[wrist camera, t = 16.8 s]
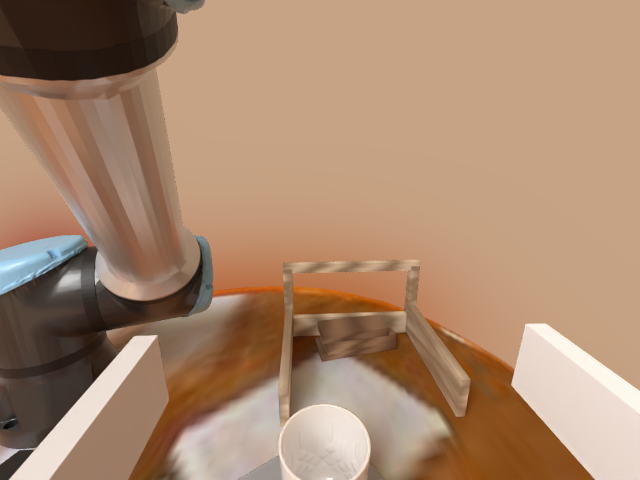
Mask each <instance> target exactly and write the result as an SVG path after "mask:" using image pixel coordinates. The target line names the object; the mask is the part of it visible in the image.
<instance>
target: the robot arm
mask: <svg viewBox="0 0 640 480" xmlns="http://www.w3.org/2000/svg"><path fill="white" fill-rule="evenodd" d="M204 2H205V0H0V107H1V109H2V111H3V112H4V114H5V115H6V116H7V118H8V119H9V121H10V122H11V124H12V125H13V127H14V128H15V129H16V131H17V132H18V134H19V135H20V137H21V138H22V140H23V141H24V143H25V144H26V146H27V147H28V148H29V150H30V152H31V153H32V154H33V156H34V157H35V159H36V160H37V162H38V163H39V165H40V166H41V168H42V169H43V170H44V172H45V173H46V175H47V176H48V178H49V179H50V180H51V182H52V184H53V185H54V187H55V188H56V189H57V191H58V192H59V194H60V195H61V197H62V198H63V200H64V201H65V202H66V204H67V205H68V207H69V208H70V210H71V211H72V213H73V214H74V215H75V217H76V219H77V220H78V222H79V223H80V224H81V226H82V227H83V229H84V230H85V232H86V233H87V235H88V236H89V238H90V239H91V240H92V242H93V243H94V245H95V246H94V247H88V242H87V241H86V240H85V238H84V237H82V236H80V235H65V236H58V237H51V238H46V239H41V240H37V241H32V242H28V243H24V244H20V245H16V246H13V247H10V248H7V249H3V250H0V445H2V446H5V447H8V448H16V449H23V448H32V447H37V448H36V449H35V450H19V451H18V452H17V453H15V454H14V455H13V456H11V457H10V458H9V459H7V460H6V461H5V462H3V463H2V464H1V465H0V480H128V479H129V477H130V475H131V473H132V471H133V469H134V467H135V465H136V463H137V461H138V459H139V457H140V455H141V453H142V451H143V450H144V448H145V446H146V444H147V442H148V440H149V438H150V436H151V434H152V432H153V430H154V428H155V426H156V424H157V422H158V420H159V418H160V417H161V415H162V413H163V411H164V409H165V407H166V405H167V403H168V401H169V397H168V391H167V386H166V380H165V374H164V369H163V363H162V357H161V352H160V346H159V340H158V335H152V336H134V337H133V338H132V339H131V340H130V342H129V343H128V344H127V345H126V346H125V347H124V348H123V350H122V351H121V352H120V353H119V352H118V350H117V349H116V348H115V347H114V345H113V344H112V343H111V341H110V340H109V339H108V337H107V334H106V331H107V330H112V329H117V328H123V327H128V326H133V325H139V324H144V323H149V322H155V321H160V320H165V319H171V318H176V317H188V316H190V315H192V314H195V313H200V312H203V311H205V310H206V309H207V308H208V307H209V306H210V304H211V301H212V296H213V285H212V282H213V267H212V257H211V251H210V247H209V243H208V241H207V240H206V239H205V238H204V237H202V236H195V235H193V233H192V232H191V231H190V230H189V229H187V228H186V227H185V226H183V222H182V216H181V210H180V204H179V199H178V193H177V187H176V181H175V176H174V170H173V164H172V158H171V153H170V147H169V141H168V135H167V130H166V125H165V118H164V113H163V107H162V101H161V96H160V89H159V84H158V78H157V73H156V67H157V66H159V65H160V64H162V63H163V62H164V61H165V60H166V59H167V58H168V57H169V56H170V55H171V54H172V52H173V51H174V49H175V47H176V44H177V42H178V26H177V18H176V12H177V13H182V14H186V13H188V12H189V11H190V10H197V9H199V8H201V7H202V6H203V5H204ZM511 385H512V386H513V388H514V389H515V390H516V391H517V392H518V393H519V394H520V396H521V397H522V398H523V399H524V400H525V401H526V402H527V403H528V405H529V406H530V407H531V408H532V409H533V410H534V411H535V412H536V414H537V415H538V416H539V417H540V418H541V419H542V420H543V421H544V423H545V424H546V425H547V426H548V427H549V428H550V429H551V430H552V432H553V433H554V434H555V435H556V436H557V437H558V438H559V440H560V441H561V442H562V443H563V444H564V445H565V446H566V447H567V449H568V450H569V451H570V452H571V453H572V454H573V455H574V456H575V458H576V459H577V460H578V461H579V462H580V463H581V464H582V465H583V467H584V468H585V469H586V470H587V471H588V472H589V473H590V474H591V476H592V477H593V478H594V479H595V480H640V391H639V390H637V389H636V388H634V387H633V386H632V385H630V384H629V383H628V382H626V381H625V380H623V379H622V378H621V377H619V376H618V375H616V374H615V373H614V372H612V371H611V370H609V369H608V368H607V367H605V366H604V365H603V364H601V363H600V362H598V361H597V360H595V359H594V358H593V357H591V356H590V355H589V354H587V353H586V352H585V351H583V350H582V349H580V348H579V347H578V346H576V345H575V344H573V343H572V342H571V341H569V340H568V339H566V338H565V337H563V336H562V335H561V334H560V333H558V332H557V331H555V330H554V329H552V328H551V327H550V326H548V325H547V324H526V325H525V330H524V334H523V338H522V343H521V346H520V350H519V355H518V359H517V363H516V367H515V371H514V375H513V380H512V384H511Z"/></svg>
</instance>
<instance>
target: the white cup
mask: <svg viewBox="0 0 640 480" xmlns="http://www.w3.org/2000/svg"><path fill="white" fill-rule="evenodd" d="M278 448H279V458H280V468H281V478H282V480H367V478H368V469H369V461H370V454H371V442H370V437H369V434H368V431H367V429H366V427H365V426H364V424H363V423H362V421H361V420H360V419H359V418H358V417H357V416H356V415H354V414H353V413H352V412H350V411H349V410H347V409H345V408H342V407H340V406H336V405H332V404H316V405H311V406H308V407H305V408H303V409H301V410H299V411H298V412H296V413H295V414H294V415H293V416H291V417H290V418H289V420H288V421H287V422H286V423H285V425H284V427H283V429H282V431H281V434H280V437H279V444H278Z"/></svg>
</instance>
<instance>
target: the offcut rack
mask: <svg viewBox="0 0 640 480" xmlns="http://www.w3.org/2000/svg"><path fill="white" fill-rule="evenodd" d="M399 270H400V271H402V270H408V275H407V287H406V299H405V309H404V311H396V312H366V313H336V314H305V315H294V314H293V278H292V273H318V272H358V271H359V272H361V271H399ZM419 270H420V262H419V261H418V260H386V261H345V262H344V261H343V262H342V261H341V262H297V263H283V282H284V309H285V321H284V333H283V344H282V355H281V366H280V377H279V388H278V391H279V412H280V427H283V426H284V425H285V423H286V422H287V421H288V420H289V418H290V398H291V372H292V345H293V337H294V336H320V333H319V331H318V321H322V320H331V319H340V318H349V317H358V316H367V315H376V314H379V315H380V316H381V317H382V319H383V320H384V321H385V322H386V323H387V324H388V325H389V326H390V327H391V328H392V329H393V330H394V331H395V332H396V333H400V332H405V333H407V335H408V336H409V338H410V340H411V341H412V343H413V345H414V347H415V348H416V350H417V352H418V353H419V355H420V357H421V358H422V360H423V362H424V363H425V365H426V367H427V368H428V370H429V372H430V374H431V375H432V377H433V379H434V380H435V382H436V384H437V385H438V387H439V389H440V390H441V392H442V394H443V396H444V397H445V399H446V401H447V402H448V404H449V406H450V407H451V409H452V411H453V412H454V414H455V416H456V417H464V416H465V412H466V406H467V400H468V394H469V388H470V382H471V379H470V378H469V376H468V375H467V374H466V372H465V371H464V370H463V368H462V367H461V366H460V364H459V363H458V362H457V360H456V359H455V358H454V356H453V355H452V354H451V352H450V351H449V350H448V348H447V347H446V346H445V344H444V343H443V342H442V340H441V339H440V338H439V337H438V335H437V334H436V333H435V331H434V330H433V329H432V327H431V326H430V325H429V323H428V322H427V321H426V319H425V318H424V317H423V315H422V314H421V313H420V312H419V310H418V309H417V308H416V301H417V291H418V281H419Z"/></svg>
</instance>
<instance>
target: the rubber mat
mask: <svg viewBox="0 0 640 480" xmlns="http://www.w3.org/2000/svg"><path fill="white" fill-rule="evenodd" d="M238 480H282V478H281V468H280V458H279V456H277V457H275V458H273V459H272V460H270V461H268V462H267V463H265V464H263V465H262V466H260V467H258V468H257V469H255V470H253V471H251V472H250V473H248V474H246V475H245V476H243V477H241V478H240V479H238ZM367 480H385V479H384V478H383V477H382V476H381V475H380V473H379V472H378V471H377V470H376V469H375V467H374V466H373V465H372V464H371V463H370V461H369V469H368V478H367Z"/></svg>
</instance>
